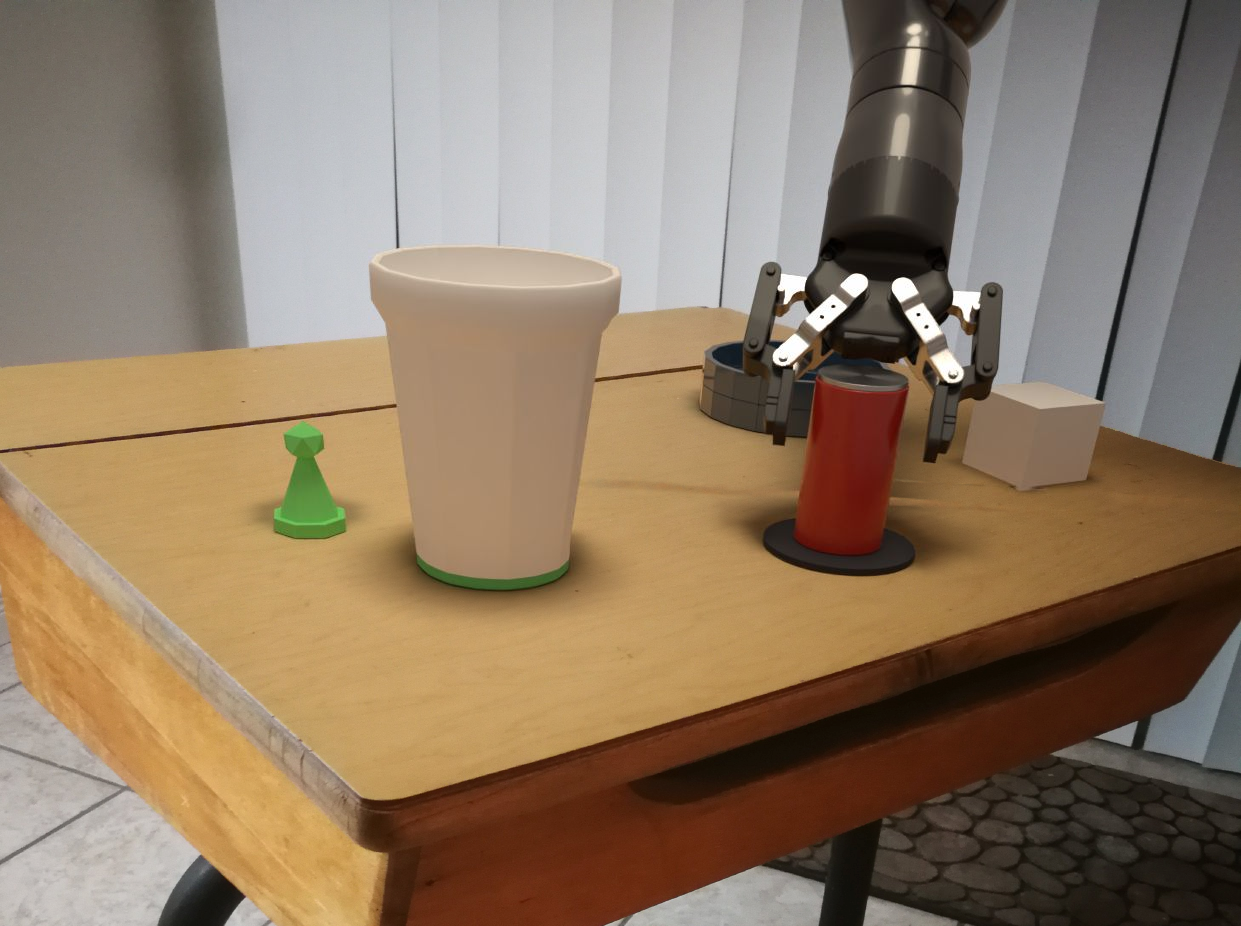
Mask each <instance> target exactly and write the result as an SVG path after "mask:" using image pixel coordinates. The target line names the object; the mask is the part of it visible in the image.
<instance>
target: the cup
mask: <svg viewBox="0 0 1241 926" xmlns="http://www.w3.org/2000/svg"><path fill="white" fill-rule="evenodd" d="M368 273H369V274H368V275H369V288H370V289H369V291H370V301H371V302H372V304H373V305H374V307H375V309H376V310H377V312H378V314H379V315H380V317H381V319H382V320H383V322H384V324H385V325H384V326H385V332H386V338H387V346H388V353H389V362H390V368H391V369H390V370H391V374H392V375H391V376H392V383H393V390H394V391H393V392H394V398H395V405H396V413H397V419H398V427H399V435H400V441H401V449H402V455H403V463H404V470H405V479H406V484H407V485H406V487H407V492H408V499H409V500H408V501H409V507H410V514H411V515H410V516H411V523H412V528H413V537H414V544H415V551H416V562H417V564H418V566H419V567H420V569H422V570H423V572H425V573H426V574H427V575H429V576H430V577H432V578H435V579H436V580H439V581H441V582H444V583H446V584H448V585H453V586H457V587H462V588H469V589H475V590H487V591H488V590H489V591H512V590H513V591H514V590H523V589H529V588H536V587H538V586H543V585H546V584H549V583H551V582H555V581H557V580H558V579H559V578H560V577H562V576H563V575H564V574H565V573H566V572H567V571H568V570H569V566H570V552H571V550H570V549H571V548H570V546H571V538H572V533H573V525H574V519H575V514H576V513H575V512H576V505H577V500H578V493H579V486H580V481H581V480H580V479H581V473H582V467H583V460H584V454H585V447H586V440H587V435H588V429H589V428H588V427H589V422H590V415H591V409H592V401H593V395H594V388H595V383H596V376H597V369H598V363H599V357H600V350H601V344H602V336H603V333H604V332H605V330H607V329H608V328H609V326H610V323H611V322H612V320H613V319H614V318H615V317H616V316H617V315H618V314H619V313H620V305H621V304H620V302H621V293H622V281H623V277H622V274H621V270H620V268H619V267H618V266H616V265H613V264H611V263H610V262H609V263H608V262H606V261H603V260H601V259H598V258H595V257H589V256H584V255H580V254H576V253H571V252H567V251H558V250H549V249H540V248H533V247H525V246H508V245H491V244H432V245H419V246H410V247H409V246H408V247H398V248H394V249H390V250H386V251H382V252H379V253H375V255H374V256H373V257H372V259H371V260H370V262H369V263H368Z"/></svg>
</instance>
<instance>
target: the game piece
mask: <svg viewBox="0 0 1241 926" xmlns="http://www.w3.org/2000/svg"><path fill="white" fill-rule="evenodd" d="M283 439H284V447H285V449H286V450H287V451H288V452H289V454H291V456H294V457H296V459H295V461H294V466H293V468H292V472H291V476H290V478H289V482H288V485H287V487H286V492H285V494H284V498H283V501H282V504H281V506H280V507H276V508H274V511H273V525H274V532H275V533H278V534H280V535H284V536H287V537H290V538H294V539H328V538H329V537H333V536H335V535H338V534H341V533H343V532H346V531H347V527H346V525H347V523H346V511H345V508H343V507H341V506H337V505H336V503H335V501H334V498H333V496H332V494H331V491H330V490H329V487H328V485H327V482H326V481H325V478H324V476H323V474H322V471H321V470H320V467H319V465H318V463H317V460H316V458H315V456H317V455H318V454H319V453H321V452H323V450H325V441H324V434H323V433H322V432H321V431H320V430H319V429H318V428H317V427H315V426H313V425H312V424H310V423H307V422H305V421H304V420H303V421H300V422H299V423H298V424H296V425H294V426H293V427H291V428H289V429H288V430H287V431H285V432H284V433H283Z"/></svg>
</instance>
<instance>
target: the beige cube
mask: <svg viewBox="0 0 1241 926" xmlns="http://www.w3.org/2000/svg"><path fill="white" fill-rule="evenodd" d="M1106 404H1107V402H1105V401H1102V400H1099V399H1096V398H1093V397H1090V396H1087V395H1085V394H1080V393H1078V392H1075V391H1072V390H1069V389H1067V388H1063V387H1060V386H1057V385H1054V384H1051V383H1048V382H1045V381H1032V382H1020V383H1018V382H1017V383H1006V384H992V389H991V392H990V395H989V397H988V398H987V399H985V400H983V401H976V400H974V402H973V409H972V413H971V418H970V422H969V427H968V432H967V437H966V442H965V446H964V450H963V451H964V452H963V456H962V461H961V463H962V464H963V465H966V466H968V467H971V468H973V469H976V470H977V471H979V472H982V473H985V474H987V475H989V476H992V477H994V478H996V479H999V480H1001V481H1003V482H1005V483H1008V484H1010V485H1008V487H1009V488H1012V489H1013V490H1016V491H1019V492H1028V491H1035V490H1042V489H1044V486H1049V485H1050V486H1051V485H1058V484H1067V483H1074V482H1081V481H1087V477H1088V474H1089V470H1090V466H1091V462H1092V460H1093V459H1092V458H1093V455H1094V451H1095V447H1096V444H1097V439H1098V436H1099V432H1100V428H1101V424H1102V420H1103V417H1104V413H1105V408H1106ZM1042 486H1043V487H1042Z"/></svg>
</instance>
